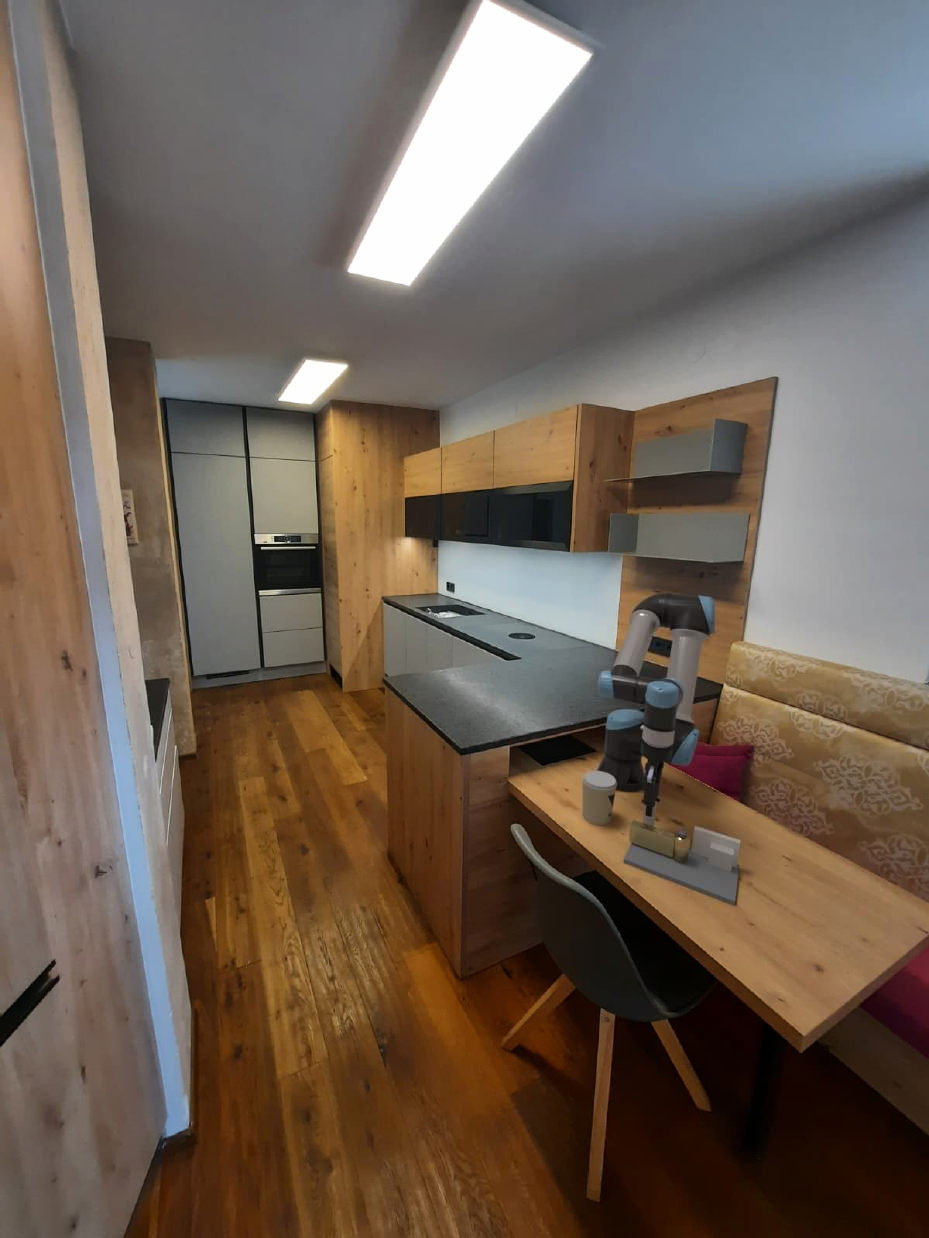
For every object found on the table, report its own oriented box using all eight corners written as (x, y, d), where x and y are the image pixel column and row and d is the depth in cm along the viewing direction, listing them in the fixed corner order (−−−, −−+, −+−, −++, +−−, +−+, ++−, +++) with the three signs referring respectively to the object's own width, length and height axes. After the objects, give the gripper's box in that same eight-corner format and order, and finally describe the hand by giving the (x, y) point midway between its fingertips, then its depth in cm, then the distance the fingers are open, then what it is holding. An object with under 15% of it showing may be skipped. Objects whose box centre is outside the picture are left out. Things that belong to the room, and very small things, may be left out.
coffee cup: (615, 829, 131) (618, 789, 128) (580, 824, 132) (583, 784, 130) (611, 809, 140) (615, 772, 137) (579, 805, 141) (581, 768, 139)
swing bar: (689, 855, 118) (691, 835, 117) (686, 864, 115) (689, 843, 114) (631, 835, 126) (633, 816, 125) (628, 842, 123) (630, 823, 122)
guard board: (637, 833, 129) (640, 804, 128) (738, 868, 116) (743, 837, 115) (623, 862, 118) (626, 831, 116) (734, 905, 105) (739, 871, 103)
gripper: (647, 729, 130) (639, 808, 135) (636, 747, 119) (627, 832, 124) (676, 736, 126) (667, 817, 131) (668, 755, 116) (658, 842, 120)
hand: (648, 824), depth 127 cm, fingers closed
